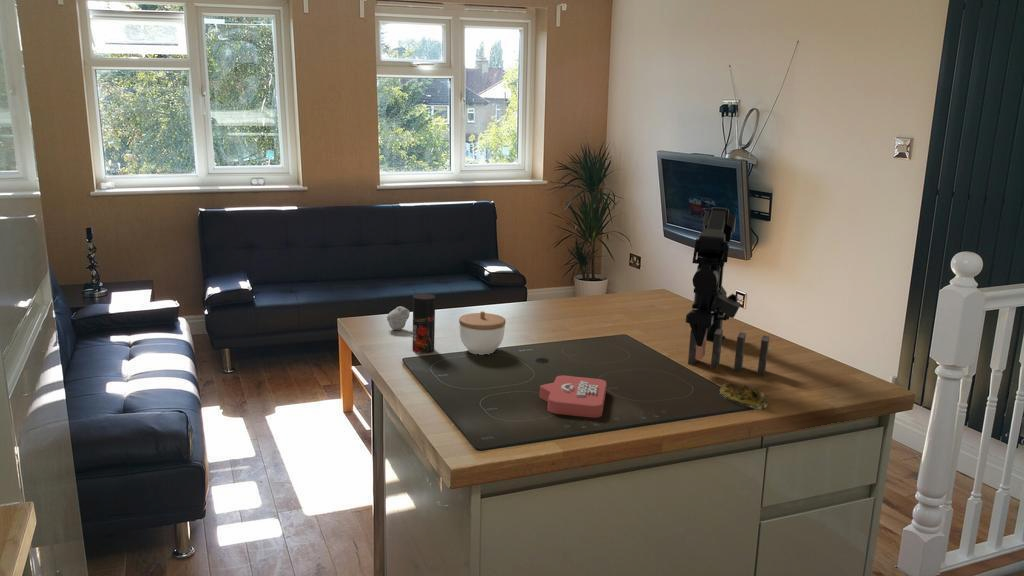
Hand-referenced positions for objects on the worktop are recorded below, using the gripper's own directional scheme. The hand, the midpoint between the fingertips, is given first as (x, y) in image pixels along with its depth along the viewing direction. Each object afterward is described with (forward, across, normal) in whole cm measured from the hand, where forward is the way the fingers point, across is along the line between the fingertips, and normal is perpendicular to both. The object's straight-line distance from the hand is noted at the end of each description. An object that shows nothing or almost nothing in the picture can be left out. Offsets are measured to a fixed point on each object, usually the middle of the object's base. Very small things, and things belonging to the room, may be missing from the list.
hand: (701, 343), depth 202 cm
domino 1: (+8, +9, +3) cm, 12 cm away
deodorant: (+8, -18, +71) cm, 74 cm away
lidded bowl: (+8, -11, +57) cm, 59 cm away
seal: (+9, -13, -13) cm, 20 cm away
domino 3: (+8, +9, -3) cm, 12 cm away
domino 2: (+4, 0, 0) cm, 4 cm away
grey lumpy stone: (+8, -5, +87) cm, 87 cm away
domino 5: (+8, +9, -15) cm, 19 cm away
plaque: (+9, -34, +23) cm, 42 cm away
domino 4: (+8, +9, -9) cm, 15 cm away
